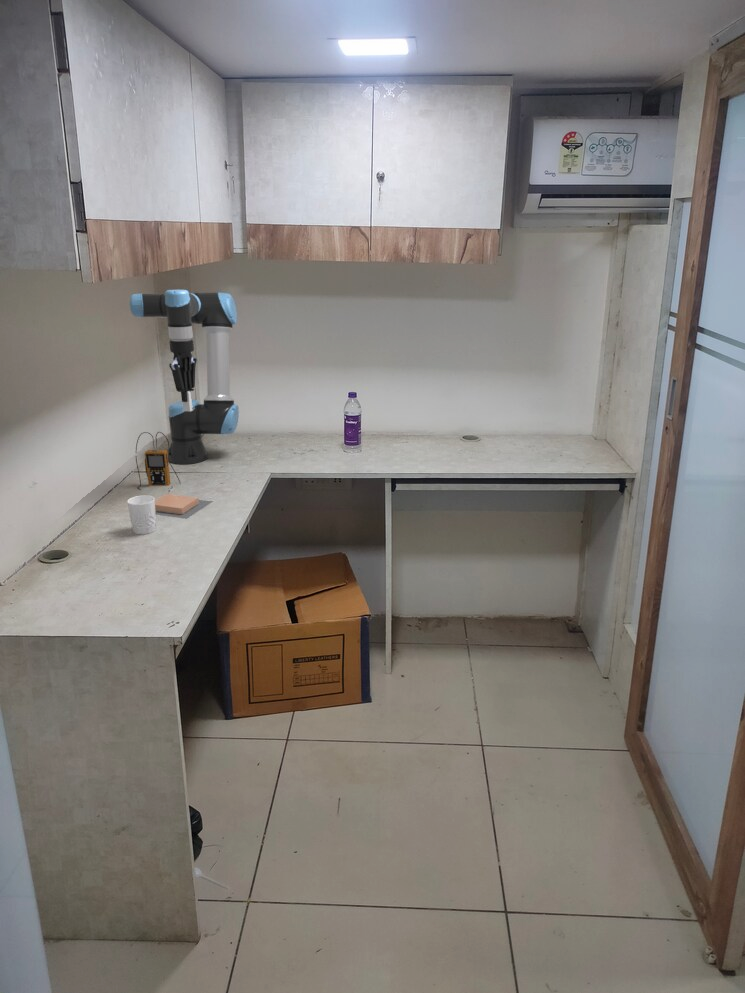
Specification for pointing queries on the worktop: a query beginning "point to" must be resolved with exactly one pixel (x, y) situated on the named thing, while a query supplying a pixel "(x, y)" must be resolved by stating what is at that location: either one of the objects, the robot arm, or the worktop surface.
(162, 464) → the multimeter
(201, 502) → the mat
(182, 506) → the tile
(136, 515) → the white cup
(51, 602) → the worktop surface
